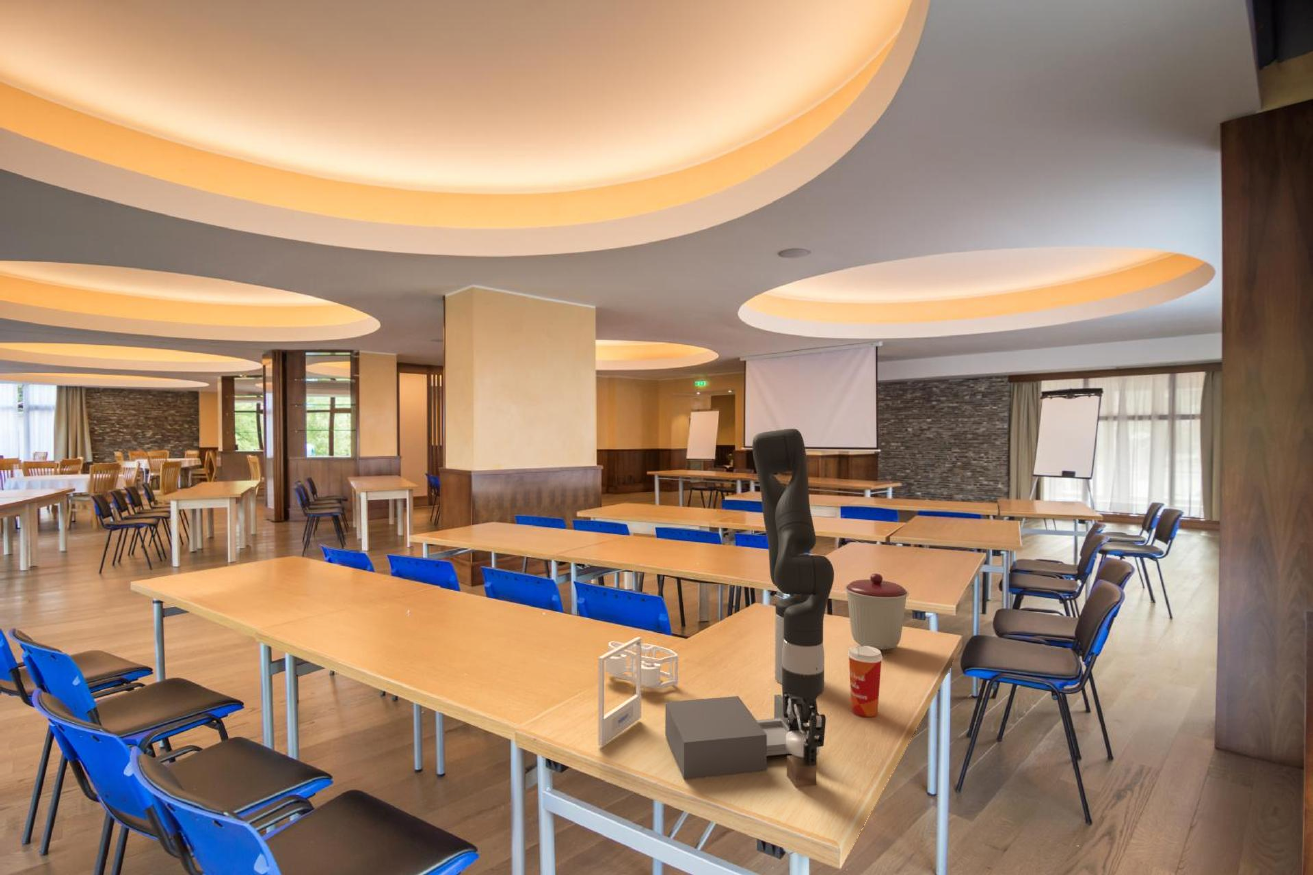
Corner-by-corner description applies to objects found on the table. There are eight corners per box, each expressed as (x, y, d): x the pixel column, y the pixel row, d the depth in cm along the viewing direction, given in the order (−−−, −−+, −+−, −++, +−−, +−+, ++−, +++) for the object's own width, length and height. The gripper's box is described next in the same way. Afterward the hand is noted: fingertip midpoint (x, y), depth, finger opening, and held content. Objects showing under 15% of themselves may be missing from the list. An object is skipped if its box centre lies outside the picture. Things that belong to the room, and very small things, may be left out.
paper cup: (841, 704, 146) (842, 644, 146) (873, 703, 146) (874, 644, 146) (855, 719, 138) (855, 657, 138) (888, 718, 139) (889, 656, 138)
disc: (810, 738, 117) (810, 728, 117) (825, 755, 112) (825, 744, 111) (780, 741, 116) (780, 731, 116) (793, 759, 110) (793, 747, 110)
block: (806, 774, 116) (807, 753, 116) (816, 787, 112) (816, 765, 112) (786, 777, 115) (786, 755, 115) (795, 789, 112) (795, 767, 111)
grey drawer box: (738, 728, 134) (738, 695, 134) (766, 771, 117) (766, 734, 117) (665, 734, 131) (665, 701, 131) (683, 780, 114) (684, 742, 114)
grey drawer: (782, 722, 136) (782, 694, 136) (816, 764, 119) (816, 731, 119) (715, 728, 133) (715, 699, 133) (741, 771, 116) (741, 739, 116)
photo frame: (602, 746, 126) (602, 658, 126) (598, 745, 127) (598, 657, 126) (641, 717, 139) (642, 637, 138) (637, 716, 139) (637, 636, 139)
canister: (855, 630, 199) (856, 564, 199) (915, 641, 188) (915, 572, 188) (835, 646, 184) (836, 575, 184) (898, 659, 174) (899, 584, 173)
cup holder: (596, 675, 163) (596, 647, 163) (624, 662, 171) (624, 636, 171) (656, 696, 150) (656, 665, 150) (683, 681, 159) (683, 653, 159)
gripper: (840, 678, 107) (840, 774, 108) (805, 648, 121) (804, 733, 122) (800, 682, 106) (799, 779, 106) (769, 651, 120) (768, 737, 120)
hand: (802, 754), depth 114 cm, fingers closed on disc, 6 cm apart
